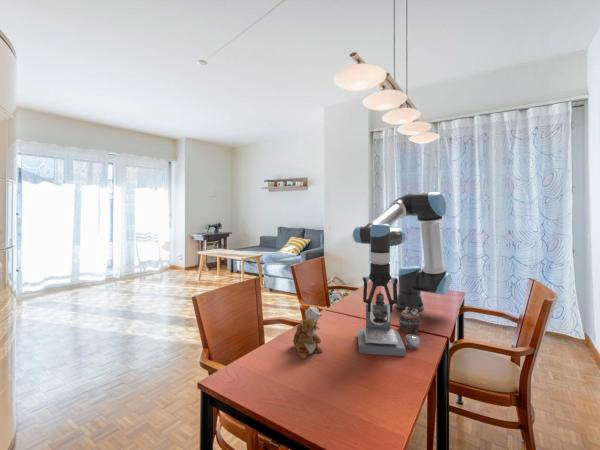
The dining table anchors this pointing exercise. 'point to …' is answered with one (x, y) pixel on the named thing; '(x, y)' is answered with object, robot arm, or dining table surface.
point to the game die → (312, 313)
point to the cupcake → (410, 320)
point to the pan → (380, 336)
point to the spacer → (412, 341)
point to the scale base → (379, 347)
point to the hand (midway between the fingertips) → (379, 319)
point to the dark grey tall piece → (379, 309)
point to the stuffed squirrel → (306, 338)
